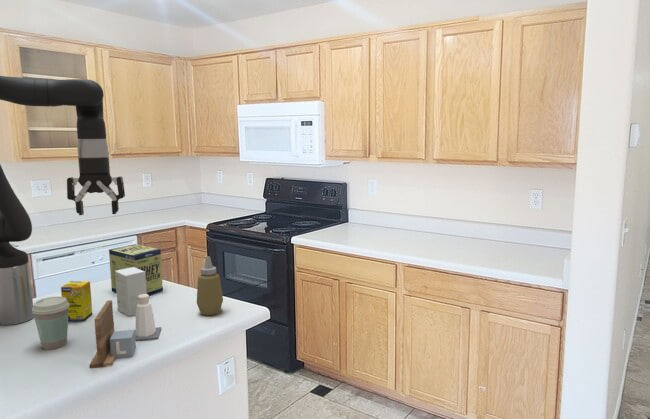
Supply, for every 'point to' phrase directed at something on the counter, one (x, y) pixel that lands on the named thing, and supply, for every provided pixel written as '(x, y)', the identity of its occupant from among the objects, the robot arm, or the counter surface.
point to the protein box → (138, 265)
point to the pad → (152, 337)
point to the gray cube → (123, 343)
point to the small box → (129, 289)
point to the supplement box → (78, 300)
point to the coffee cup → (51, 321)
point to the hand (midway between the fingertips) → (98, 214)
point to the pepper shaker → (144, 317)
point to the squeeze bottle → (209, 290)
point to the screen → (103, 337)
